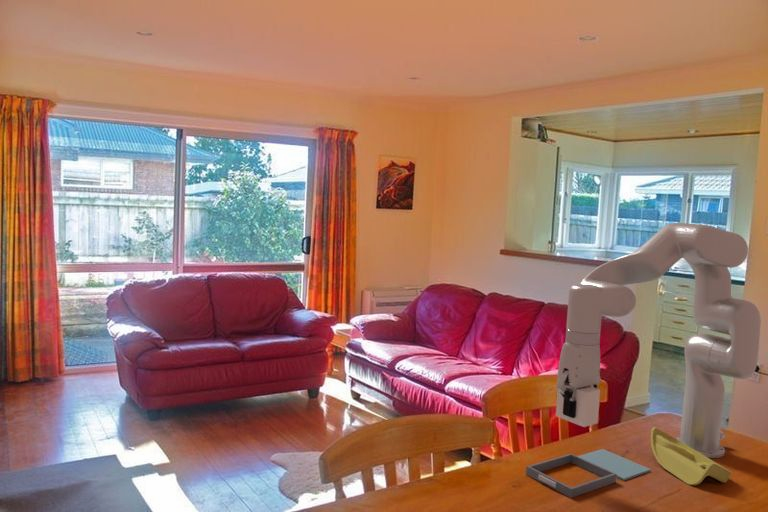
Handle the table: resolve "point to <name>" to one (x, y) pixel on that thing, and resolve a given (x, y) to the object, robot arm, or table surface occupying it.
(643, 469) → the mat
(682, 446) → the plastic component
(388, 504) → the table surface
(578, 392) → the block
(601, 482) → the grey rectangular frame
